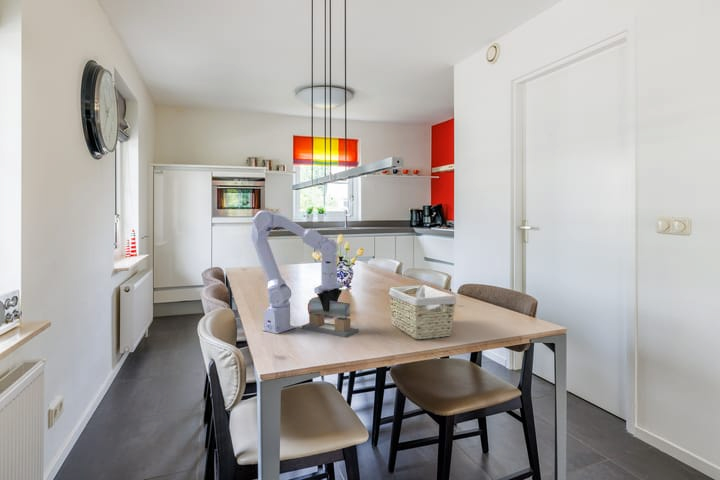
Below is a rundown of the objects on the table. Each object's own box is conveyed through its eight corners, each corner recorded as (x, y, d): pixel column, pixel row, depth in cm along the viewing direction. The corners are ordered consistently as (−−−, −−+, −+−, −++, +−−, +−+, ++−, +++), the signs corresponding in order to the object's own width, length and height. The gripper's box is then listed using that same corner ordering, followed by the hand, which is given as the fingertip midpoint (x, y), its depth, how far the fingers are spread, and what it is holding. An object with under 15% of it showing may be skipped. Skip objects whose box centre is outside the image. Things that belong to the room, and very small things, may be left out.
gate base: (345, 337, 136) (345, 323, 136) (301, 328, 148) (301, 314, 147) (358, 331, 143) (358, 318, 143) (315, 323, 154) (315, 310, 154)
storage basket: (387, 323, 154) (387, 286, 153) (424, 320, 159) (425, 284, 158) (414, 342, 132) (414, 298, 131) (457, 337, 137) (457, 295, 136)
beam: (344, 318, 139) (344, 305, 139) (309, 312, 148) (309, 300, 148) (350, 315, 142) (350, 303, 142) (315, 310, 151) (315, 298, 151)
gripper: (325, 276, 136) (325, 315, 137) (349, 271, 148) (349, 307, 149) (309, 274, 140) (310, 312, 141) (334, 270, 152) (334, 305, 153)
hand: (329, 310), depth 145 cm, fingers closed on beam, 3 cm apart
